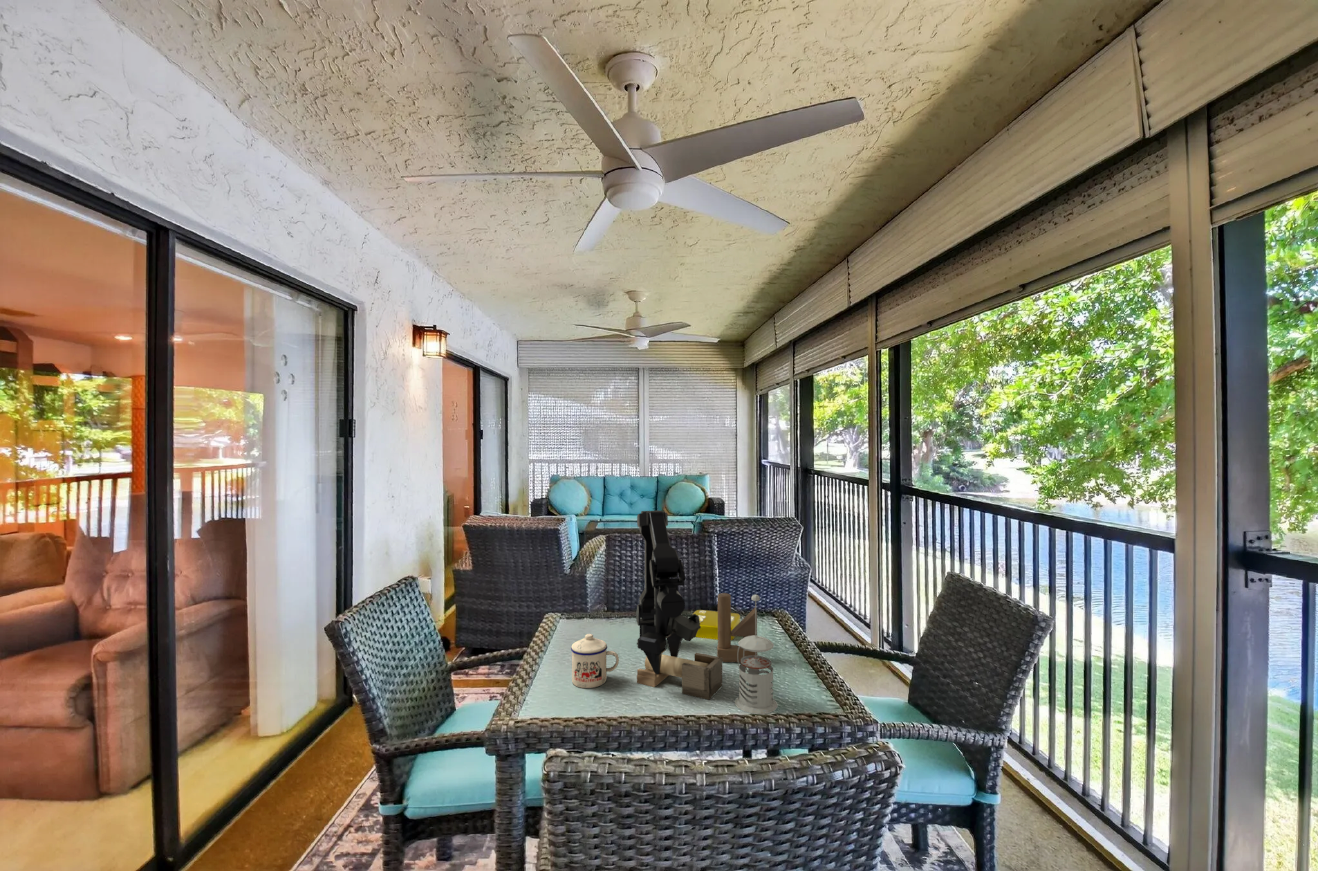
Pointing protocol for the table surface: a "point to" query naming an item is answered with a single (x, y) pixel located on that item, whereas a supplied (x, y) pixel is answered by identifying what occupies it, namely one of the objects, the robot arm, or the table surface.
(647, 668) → the rod
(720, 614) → the brown post stand
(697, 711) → the table surface
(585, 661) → the teacup with lid
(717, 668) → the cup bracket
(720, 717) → the table surface
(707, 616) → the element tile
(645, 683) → the block
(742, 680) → the french press
